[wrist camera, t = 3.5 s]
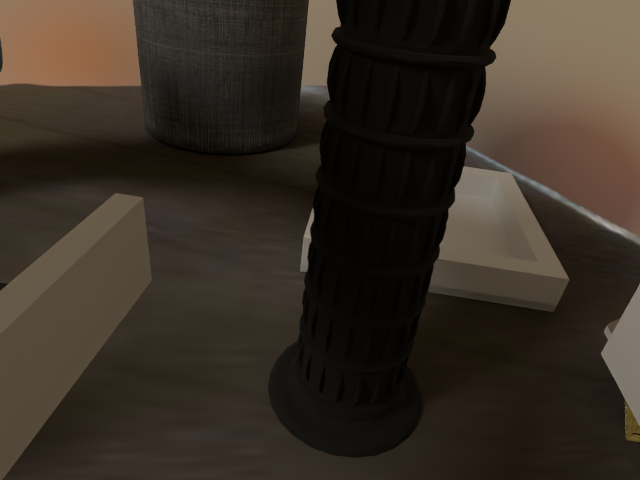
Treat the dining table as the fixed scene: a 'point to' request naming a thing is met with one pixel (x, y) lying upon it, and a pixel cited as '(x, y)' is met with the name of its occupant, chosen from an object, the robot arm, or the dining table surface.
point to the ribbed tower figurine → (381, 214)
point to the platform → (628, 413)
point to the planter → (221, 72)
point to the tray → (491, 247)
